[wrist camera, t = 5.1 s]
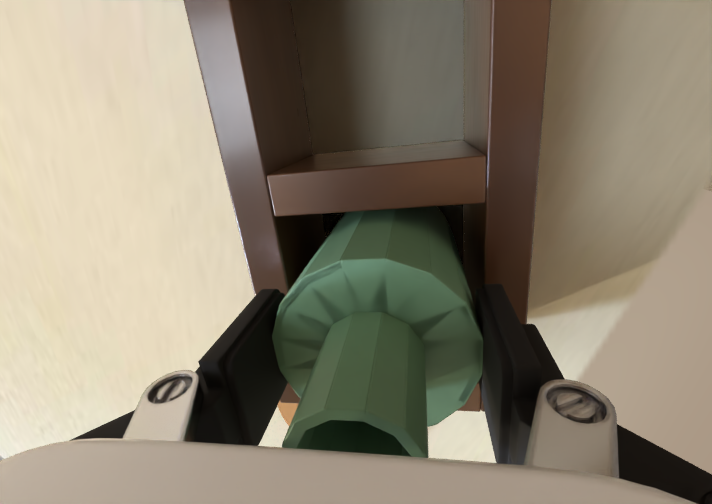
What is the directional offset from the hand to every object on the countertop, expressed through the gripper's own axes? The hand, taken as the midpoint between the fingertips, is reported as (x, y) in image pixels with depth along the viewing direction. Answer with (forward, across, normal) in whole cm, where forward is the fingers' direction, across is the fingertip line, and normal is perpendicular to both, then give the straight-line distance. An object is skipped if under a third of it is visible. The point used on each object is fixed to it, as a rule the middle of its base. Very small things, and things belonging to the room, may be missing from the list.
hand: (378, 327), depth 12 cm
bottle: (+8, 0, 0) cm, 8 cm away
